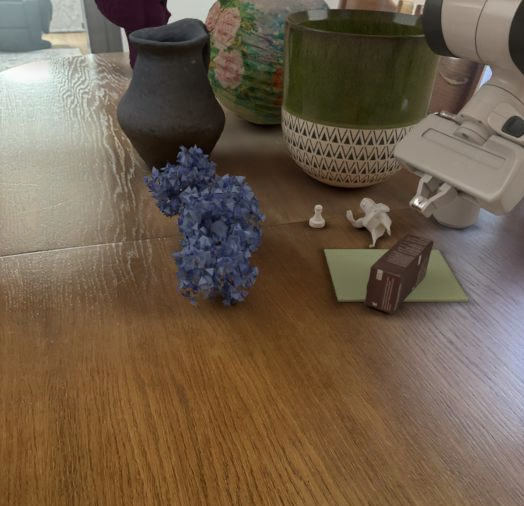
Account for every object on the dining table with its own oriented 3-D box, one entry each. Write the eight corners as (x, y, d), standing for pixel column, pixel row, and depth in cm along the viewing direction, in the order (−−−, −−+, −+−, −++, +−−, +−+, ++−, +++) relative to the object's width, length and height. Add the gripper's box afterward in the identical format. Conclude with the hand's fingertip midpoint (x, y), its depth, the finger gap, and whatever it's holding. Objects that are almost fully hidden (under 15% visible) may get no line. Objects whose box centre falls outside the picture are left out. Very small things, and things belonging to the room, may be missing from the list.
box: (427, 277, 81) (391, 316, 73) (399, 267, 83) (361, 304, 75) (437, 240, 77) (400, 276, 69) (407, 230, 79) (367, 265, 71)
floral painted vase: (339, 109, 147) (354, -29, 128) (328, 151, 122) (346, -13, 103) (219, 98, 151) (217, -36, 132) (185, 137, 125) (176, -23, 107)
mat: (438, 251, 88) (438, 249, 88) (467, 301, 77) (468, 299, 77) (324, 251, 87) (324, 248, 86) (337, 301, 76) (338, 299, 76)
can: (440, 207, 101) (457, 139, 93) (481, 219, 97) (502, 150, 90) (424, 222, 96) (440, 151, 88) (467, 234, 93) (487, 163, 85)
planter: (298, 212, 97) (311, 37, 80) (263, 158, 117) (267, 8, 100) (438, 202, 102) (478, 35, 85) (381, 151, 122) (405, 8, 106)
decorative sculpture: (283, 224, 64) (231, 120, 85) (154, 250, 62) (133, 136, 83) (287, 318, 74) (240, 204, 95) (177, 342, 72) (154, 221, 93)
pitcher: (101, 172, 108) (78, 24, 93) (166, 140, 124) (157, 9, 108) (190, 195, 101) (182, 40, 86) (248, 159, 117) (250, 21, 101)
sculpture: (179, 79, 166) (172, -45, 147) (102, 81, 161) (84, -46, 142) (170, 65, 179) (162, -51, 160) (98, 67, 174) (81, -52, 155)
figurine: (348, 237, 87) (336, 203, 96) (378, 257, 89) (364, 222, 98) (375, 207, 84) (360, 175, 93) (405, 229, 86) (388, 196, 95)
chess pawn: (308, 221, 95) (309, 201, 92) (323, 221, 95) (325, 201, 93) (310, 228, 93) (312, 208, 90) (325, 228, 93) (328, 208, 91)
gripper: (426, 92, 78) (360, 172, 80) (547, 134, 64) (462, 229, 66) (444, 121, 83) (380, 196, 85) (560, 167, 69) (480, 255, 71)
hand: (417, 211), depth 76 cm, fingers closed
